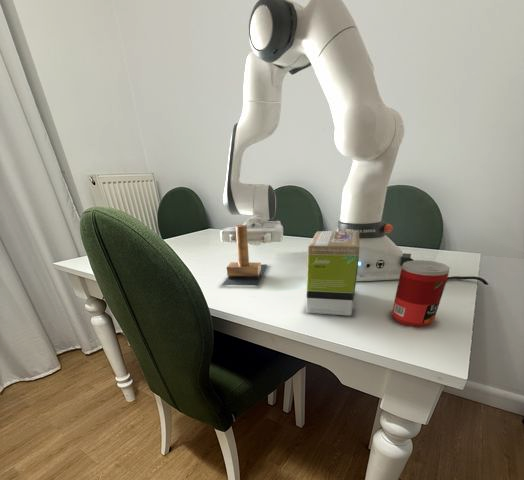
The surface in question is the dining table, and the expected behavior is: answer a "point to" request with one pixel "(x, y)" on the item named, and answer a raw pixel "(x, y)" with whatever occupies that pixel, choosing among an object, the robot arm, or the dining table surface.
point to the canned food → (419, 292)
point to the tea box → (332, 272)
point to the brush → (243, 259)
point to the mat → (245, 281)
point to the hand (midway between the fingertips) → (248, 239)
